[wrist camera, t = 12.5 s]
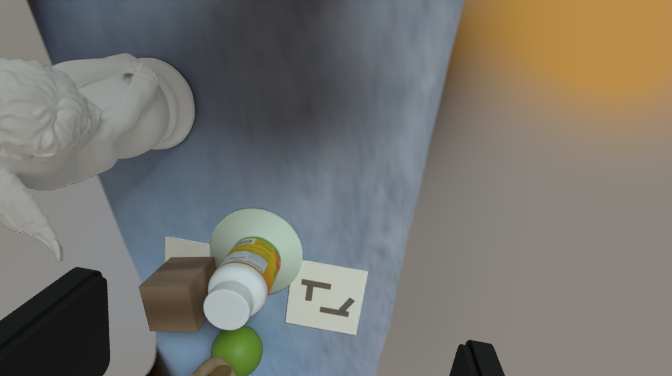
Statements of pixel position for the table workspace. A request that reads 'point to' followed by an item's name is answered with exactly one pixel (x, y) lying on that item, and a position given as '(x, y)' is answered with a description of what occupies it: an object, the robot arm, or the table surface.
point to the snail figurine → (233, 354)
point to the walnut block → (178, 294)
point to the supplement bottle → (242, 282)
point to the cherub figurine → (80, 126)
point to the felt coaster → (261, 225)
